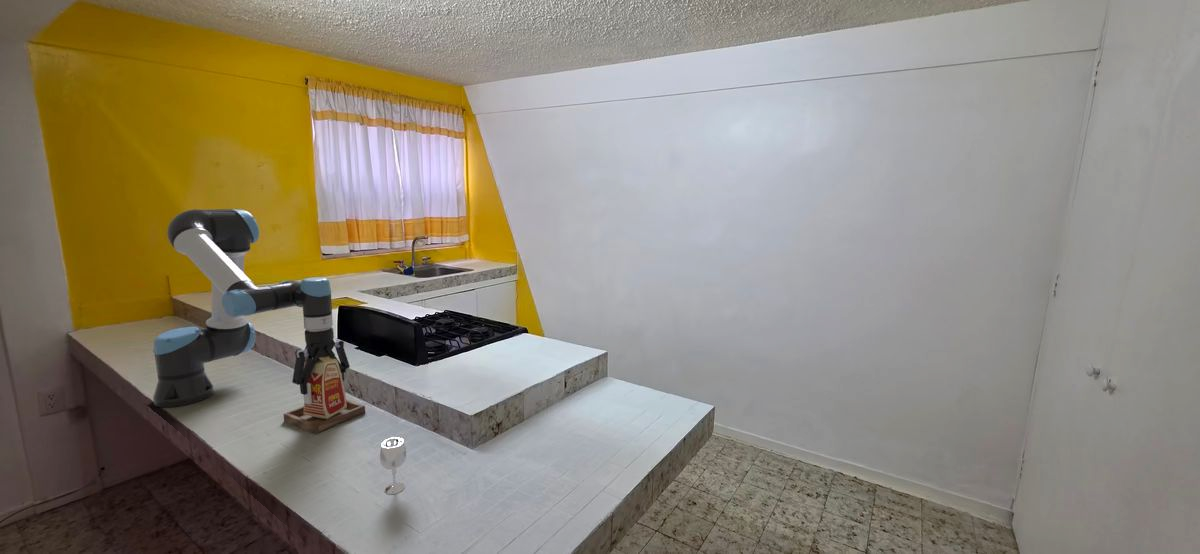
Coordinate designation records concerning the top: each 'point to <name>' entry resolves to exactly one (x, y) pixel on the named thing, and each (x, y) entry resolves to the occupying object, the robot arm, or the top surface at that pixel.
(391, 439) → the wineglass
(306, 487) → the top surface
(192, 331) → the robot arm
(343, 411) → the tray
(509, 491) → the top surface
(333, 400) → the milk carton
